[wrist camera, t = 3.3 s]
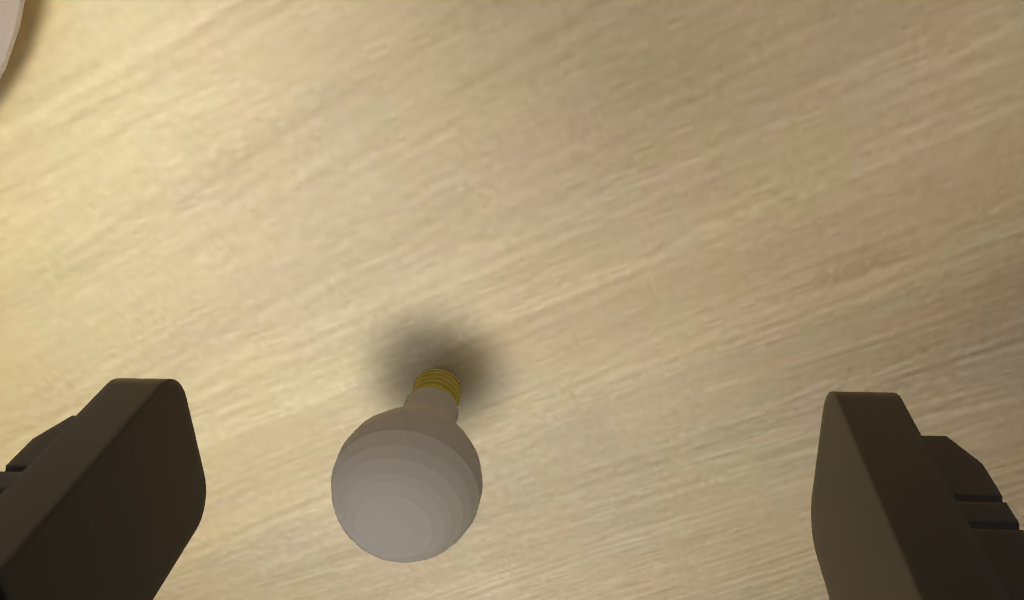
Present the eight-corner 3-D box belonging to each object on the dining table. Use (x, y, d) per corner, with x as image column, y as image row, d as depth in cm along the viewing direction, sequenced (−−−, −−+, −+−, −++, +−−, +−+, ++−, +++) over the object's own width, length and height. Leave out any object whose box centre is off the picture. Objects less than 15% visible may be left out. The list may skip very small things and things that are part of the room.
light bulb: (526, 399, 39) (502, 558, 30) (428, 451, 41) (377, 616, 32) (453, 304, 38) (405, 443, 29) (354, 363, 39) (279, 511, 30)
